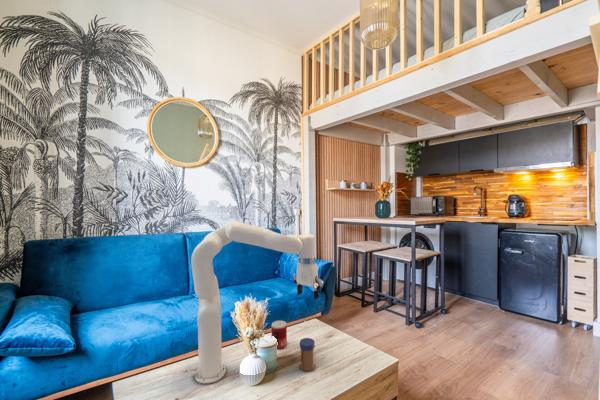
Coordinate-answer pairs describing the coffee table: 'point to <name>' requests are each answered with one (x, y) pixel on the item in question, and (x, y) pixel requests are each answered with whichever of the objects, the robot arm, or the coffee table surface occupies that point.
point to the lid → (307, 344)
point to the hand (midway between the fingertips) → (307, 296)
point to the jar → (307, 360)
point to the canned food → (280, 333)
